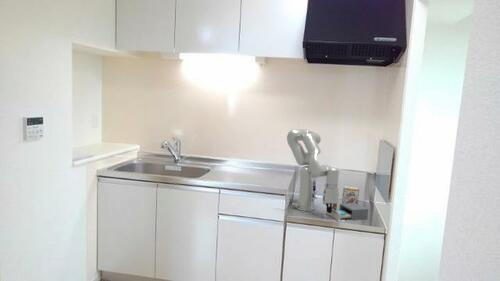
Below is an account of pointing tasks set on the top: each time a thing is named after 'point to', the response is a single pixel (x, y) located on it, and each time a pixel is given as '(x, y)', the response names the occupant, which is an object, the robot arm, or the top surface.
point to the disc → (341, 212)
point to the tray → (338, 215)
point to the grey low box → (355, 210)
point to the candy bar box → (350, 195)
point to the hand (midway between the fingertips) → (328, 212)
